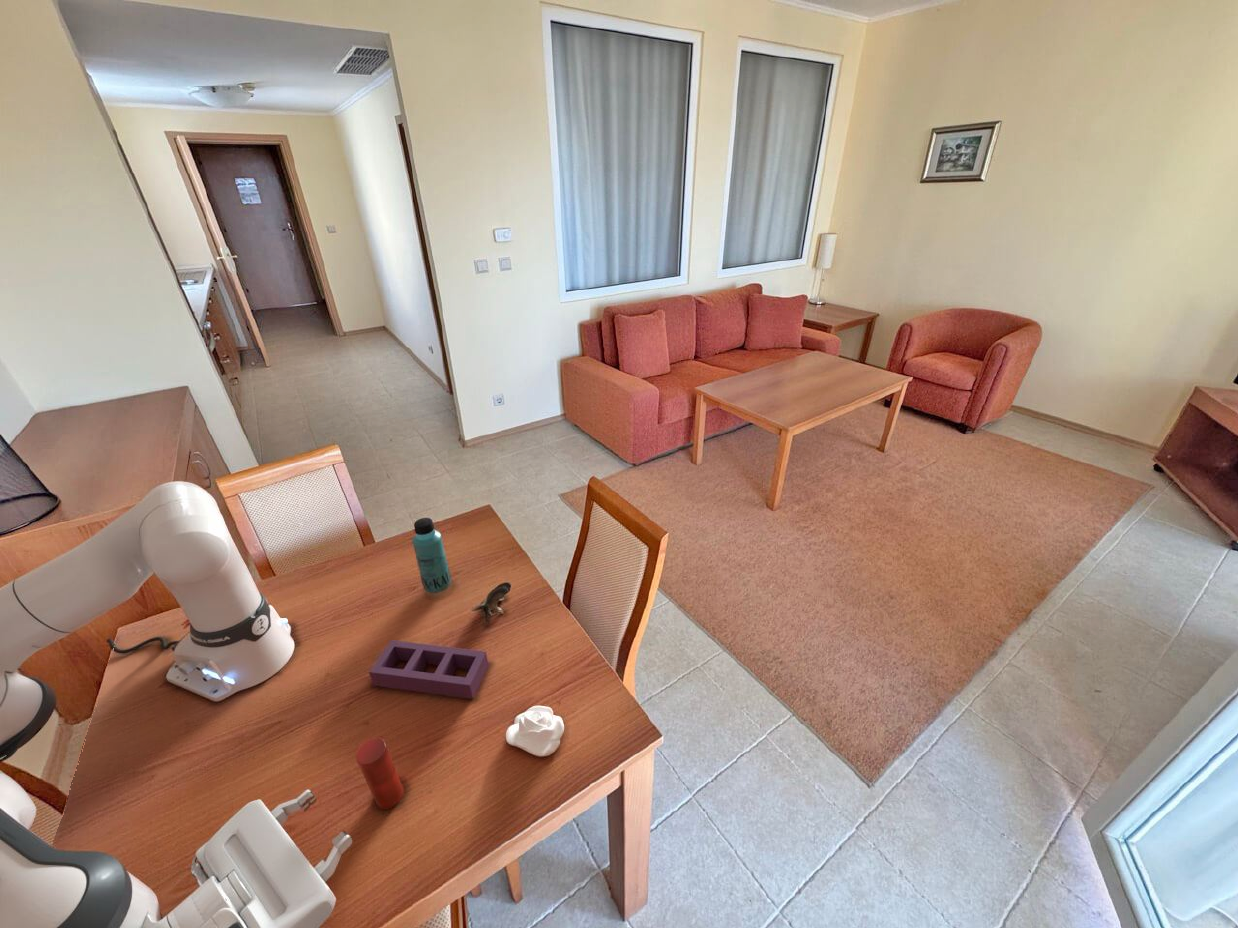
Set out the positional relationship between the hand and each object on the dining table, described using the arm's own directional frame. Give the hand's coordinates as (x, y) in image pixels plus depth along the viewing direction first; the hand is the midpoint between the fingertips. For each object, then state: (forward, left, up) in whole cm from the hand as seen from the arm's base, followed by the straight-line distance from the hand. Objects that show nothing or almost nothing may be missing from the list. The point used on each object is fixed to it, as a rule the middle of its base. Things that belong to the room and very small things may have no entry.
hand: (330, 814), depth 70 cm
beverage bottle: (-11, +52, -7) cm, 53 cm away
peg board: (-1, +29, -7) cm, 30 cm away
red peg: (+3, +7, -7) cm, 10 cm away
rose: (+23, +20, -7) cm, 31 cm away
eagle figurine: (+5, +47, -7) cm, 48 cm away
